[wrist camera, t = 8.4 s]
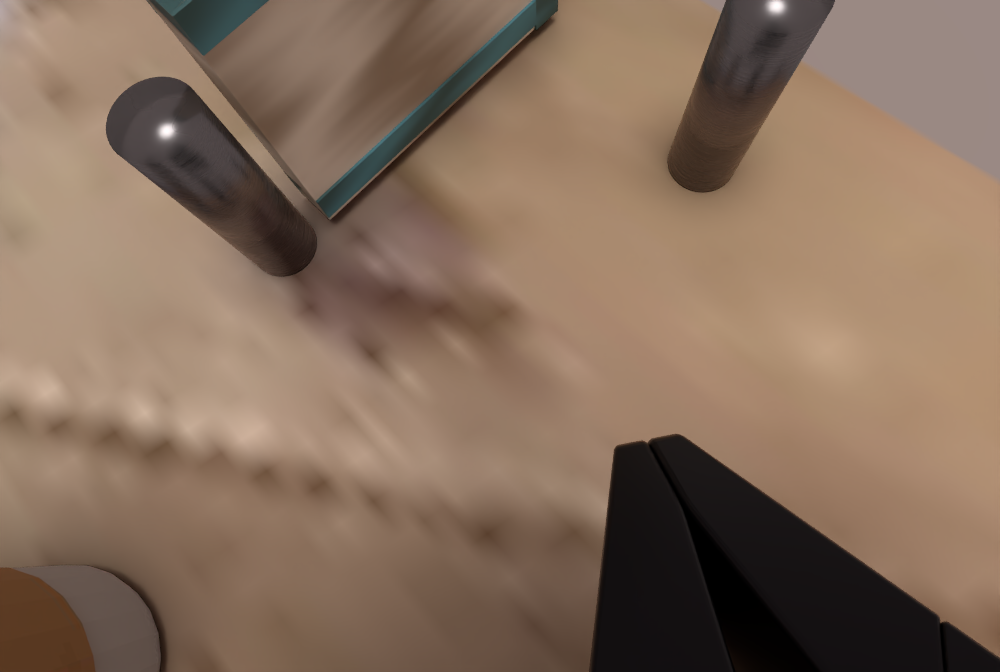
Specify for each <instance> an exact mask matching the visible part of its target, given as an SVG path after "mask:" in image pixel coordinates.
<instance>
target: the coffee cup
mask: <svg viewBox="0 0 1000 672" xmlns="http://www.w3.org/2000/svg"><path fill="white" fill-rule="evenodd" d="M160 662H161V653H160V643H159V633H158V630H157V627H156V625H155V622H154V619H153V617H152V614H151V611H150V610H149V608H148V607H147V606H146V604H145V603H144V601H143V600H142V599H141V597H140V596H139V595H138V593H137V592H136V591H134V590H133V589H131V587H129V586H128V585H127V584H125V583H124V582H123V581H121V580H120V579H118V578H117V577H116V576H114V575H113V574H112V573H109V572H106V571H103V570H100V569H97V568H94V567H91V566H86V565H57V566H40V567H23V568H0V672H159V670H160Z"/></svg>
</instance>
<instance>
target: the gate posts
mask: <svg viewBox="0 0 1000 672" xmlns="http://www.w3.org/2000/svg"><path fill="white" fill-rule="evenodd" d="M834 2H835V0H726V2H725V5H724V8H723V10H722V13H721V15H720V18H719V21H718V24H717V26H716V29H715V32H714V34H713V37H712V40H711V42H710V45H709V48H708V50H707V53H706V56H705V58H704V61H703V64H702V66H701V69H700V72H699V74H698V77H697V80H696V82H695V85H694V88H693V90H692V93H691V96H690V99H689V101H688V104H687V107H686V109H685V112H684V115H683V117H682V120H681V123H680V125H679V128H678V131H677V133H676V136H675V139H674V141H673V144H672V147H671V149H670V152H669V156H668V167H669V170H670V173H671V175H672V176H673V178H674V179H675V180H676V181H677V182H678V183H679V184H680V185H682V186H683V187H685V188H687V189H689V190H692V191H697V192H708V191H713V190H716V189H718V188H720V187H722V186H723V185H725V184H726V183H727V182H728V181H729V179H730V178H731V177H732V175H733V173H734V172H735V170H736V168H737V167H738V165H739V163H740V161H741V160H742V158H743V156H744V155H745V153H746V151H747V150H748V148H749V146H750V145H751V143H752V141H753V140H754V138H755V136H756V135H757V133H758V131H759V130H760V128H761V126H762V125H763V123H764V121H765V120H766V118H767V116H768V115H769V113H770V111H771V110H772V108H773V106H774V105H775V103H776V101H777V100H778V98H779V96H780V95H781V93H782V91H783V90H784V88H785V86H786V85H787V83H788V81H789V80H790V78H791V76H792V75H793V73H794V71H795V69H796V68H797V66H798V64H799V63H800V61H801V59H802V58H803V56H804V54H805V53H806V51H807V49H808V48H809V46H810V44H811V43H812V41H813V39H814V38H815V36H816V34H817V33H818V31H819V29H820V28H821V26H822V24H823V23H824V21H825V19H826V18H827V16H828V14H829V13H830V11H831V9H832V7H833V5H834ZM106 134H107V138H108V141H109V143H110V145H111V147H112V148H113V150H114V151H115V152H116V153H117V154H118V155H120V156H121V157H122V158H123V159H125V160H126V161H127V162H128V163H130V164H131V165H132V166H133V167H135V168H136V169H137V170H138V171H140V172H141V173H142V174H143V175H145V176H146V177H147V178H148V179H150V180H151V181H152V182H153V183H155V184H156V185H157V186H158V187H160V188H161V189H162V190H163V191H165V192H166V193H167V194H168V195H170V196H171V197H172V198H173V199H175V200H176V201H177V202H178V203H180V204H181V205H182V206H183V207H185V208H186V209H187V210H188V211H190V212H191V213H192V214H193V215H195V216H196V217H197V218H198V219H200V220H201V221H202V222H203V223H205V224H206V225H207V226H208V227H210V228H211V229H212V230H213V231H215V232H216V233H217V234H218V235H220V236H221V237H222V238H223V239H225V240H226V241H227V242H228V243H230V244H231V245H232V246H233V247H235V248H236V249H237V250H238V251H240V252H241V253H242V254H243V255H245V256H246V257H247V258H248V259H250V260H251V261H252V262H253V263H255V264H256V265H257V266H258V267H260V268H261V269H262V270H263V271H265V272H267V273H268V274H271V275H275V276H288V275H292V274H295V273H297V272H299V271H300V270H302V269H303V268H304V267H306V266H307V265H308V263H309V262H310V261H311V259H312V258H313V256H314V253H315V250H316V245H317V240H316V235H315V232H314V230H313V228H312V227H311V225H310V224H309V223H308V222H307V221H306V220H305V218H304V217H303V216H302V215H301V214H300V213H299V211H298V210H297V209H296V208H295V207H294V206H293V205H292V203H291V202H290V201H289V200H288V199H287V198H286V196H285V195H284V194H283V193H282V192H281V191H280V190H279V188H278V187H277V186H276V185H275V184H274V183H273V181H272V180H271V179H270V178H269V177H268V176H267V174H266V173H265V172H264V171H263V170H262V169H261V168H260V166H259V165H258V164H257V163H256V162H255V161H254V159H253V158H252V157H251V156H250V155H249V154H248V153H247V151H246V150H245V149H244V148H243V147H242V146H241V144H240V143H239V142H238V141H237V140H236V139H235V137H234V136H233V135H232V134H231V133H230V132H229V131H228V129H227V128H226V127H225V126H224V125H223V124H222V122H221V121H220V120H219V119H218V118H217V117H216V116H215V114H214V113H213V112H212V111H211V110H210V109H209V107H208V106H207V105H206V104H205V103H204V102H203V100H202V99H201V98H200V97H199V96H198V95H197V94H196V92H195V91H194V90H193V89H192V88H191V87H190V86H189V85H187V84H186V83H184V82H183V81H181V80H178V79H175V78H171V77H154V78H149V79H145V80H143V81H140V82H138V83H136V84H134V85H133V86H131V87H129V88H128V89H127V90H126V91H124V92H123V93H122V94H121V95H120V96H119V97H118V99H117V100H116V101H115V102H114V104H113V106H112V107H111V109H110V112H109V114H108V117H107V122H106Z"/></svg>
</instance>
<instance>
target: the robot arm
mask: <svg viewBox="0 0 1000 672" xmlns="http://www.w3.org/2000/svg"><path fill="white" fill-rule="evenodd" d="M589 672H1000V658H999V657H998V656H996V655H995V654H993V653H992V652H990V651H989V650H987V649H986V648H985V647H983V646H982V645H980V644H979V643H977V642H976V641H975V640H973V639H972V638H970V637H969V636H968V635H966V634H965V633H963V632H962V631H960V630H959V629H958V628H956V627H955V626H953V625H952V624H950V623H949V622H946V621H945V622H942V623H941V624H940V618H939V616H938V615H937V614H936V613H934V612H933V611H931V610H930V609H929V608H927V607H926V606H924V605H923V604H921V603H920V602H919V601H917V600H916V599H914V598H913V597H912V596H910V595H909V594H907V593H906V592H904V591H903V590H902V589H900V588H899V587H897V586H896V585H894V584H893V583H892V582H890V581H889V580H887V579H886V578H884V577H883V576H882V575H880V574H879V573H877V572H876V571H875V570H873V569H872V568H870V567H869V566H867V565H866V564H865V563H863V562H862V561H860V560H859V559H857V558H856V557H855V556H853V555H852V554H850V553H849V552H848V551H846V550H845V549H843V548H842V547H840V546H839V545H838V544H836V543H835V542H833V541H832V540H830V539H829V538H828V537H826V536H825V535H823V534H822V533H820V532H819V531H818V530H816V529H815V528H813V527H812V526H811V525H809V524H808V523H806V522H805V521H803V520H802V519H801V518H799V517H798V516H796V515H795V514H793V513H792V512H791V511H789V510H788V509H786V508H785V507H784V506H782V505H781V504H779V503H778V502H776V501H775V500H774V499H772V498H771V497H769V496H768V495H766V494H765V493H764V492H762V491H761V490H759V489H758V488H756V487H755V486H754V485H752V484H751V483H749V482H748V481H747V480H745V479H744V478H742V477H741V476H739V475H738V474H737V473H735V472H734V471H732V470H731V469H729V468H728V467H727V466H725V465H724V464H722V463H721V462H720V461H718V460H717V459H715V458H714V457H712V456H711V455H710V454H708V453H707V452H705V451H704V450H702V449H701V448H700V447H698V446H697V445H695V444H694V443H692V442H691V441H690V440H688V439H687V438H685V437H684V436H682V435H679V434H672V435H667V436H662V437H657V438H652V439H651V440H650V441H649V442H648V443H647V442H645V441H636V442H631V443H626V444H621V445H617V446H616V447H615V449H614V455H613V464H612V473H611V482H610V491H609V499H608V508H607V517H606V526H605V535H604V544H603V553H602V561H601V570H600V579H599V588H598V597H597V606H596V614H595V623H594V632H593V641H592V650H591V659H590V667H589Z"/></svg>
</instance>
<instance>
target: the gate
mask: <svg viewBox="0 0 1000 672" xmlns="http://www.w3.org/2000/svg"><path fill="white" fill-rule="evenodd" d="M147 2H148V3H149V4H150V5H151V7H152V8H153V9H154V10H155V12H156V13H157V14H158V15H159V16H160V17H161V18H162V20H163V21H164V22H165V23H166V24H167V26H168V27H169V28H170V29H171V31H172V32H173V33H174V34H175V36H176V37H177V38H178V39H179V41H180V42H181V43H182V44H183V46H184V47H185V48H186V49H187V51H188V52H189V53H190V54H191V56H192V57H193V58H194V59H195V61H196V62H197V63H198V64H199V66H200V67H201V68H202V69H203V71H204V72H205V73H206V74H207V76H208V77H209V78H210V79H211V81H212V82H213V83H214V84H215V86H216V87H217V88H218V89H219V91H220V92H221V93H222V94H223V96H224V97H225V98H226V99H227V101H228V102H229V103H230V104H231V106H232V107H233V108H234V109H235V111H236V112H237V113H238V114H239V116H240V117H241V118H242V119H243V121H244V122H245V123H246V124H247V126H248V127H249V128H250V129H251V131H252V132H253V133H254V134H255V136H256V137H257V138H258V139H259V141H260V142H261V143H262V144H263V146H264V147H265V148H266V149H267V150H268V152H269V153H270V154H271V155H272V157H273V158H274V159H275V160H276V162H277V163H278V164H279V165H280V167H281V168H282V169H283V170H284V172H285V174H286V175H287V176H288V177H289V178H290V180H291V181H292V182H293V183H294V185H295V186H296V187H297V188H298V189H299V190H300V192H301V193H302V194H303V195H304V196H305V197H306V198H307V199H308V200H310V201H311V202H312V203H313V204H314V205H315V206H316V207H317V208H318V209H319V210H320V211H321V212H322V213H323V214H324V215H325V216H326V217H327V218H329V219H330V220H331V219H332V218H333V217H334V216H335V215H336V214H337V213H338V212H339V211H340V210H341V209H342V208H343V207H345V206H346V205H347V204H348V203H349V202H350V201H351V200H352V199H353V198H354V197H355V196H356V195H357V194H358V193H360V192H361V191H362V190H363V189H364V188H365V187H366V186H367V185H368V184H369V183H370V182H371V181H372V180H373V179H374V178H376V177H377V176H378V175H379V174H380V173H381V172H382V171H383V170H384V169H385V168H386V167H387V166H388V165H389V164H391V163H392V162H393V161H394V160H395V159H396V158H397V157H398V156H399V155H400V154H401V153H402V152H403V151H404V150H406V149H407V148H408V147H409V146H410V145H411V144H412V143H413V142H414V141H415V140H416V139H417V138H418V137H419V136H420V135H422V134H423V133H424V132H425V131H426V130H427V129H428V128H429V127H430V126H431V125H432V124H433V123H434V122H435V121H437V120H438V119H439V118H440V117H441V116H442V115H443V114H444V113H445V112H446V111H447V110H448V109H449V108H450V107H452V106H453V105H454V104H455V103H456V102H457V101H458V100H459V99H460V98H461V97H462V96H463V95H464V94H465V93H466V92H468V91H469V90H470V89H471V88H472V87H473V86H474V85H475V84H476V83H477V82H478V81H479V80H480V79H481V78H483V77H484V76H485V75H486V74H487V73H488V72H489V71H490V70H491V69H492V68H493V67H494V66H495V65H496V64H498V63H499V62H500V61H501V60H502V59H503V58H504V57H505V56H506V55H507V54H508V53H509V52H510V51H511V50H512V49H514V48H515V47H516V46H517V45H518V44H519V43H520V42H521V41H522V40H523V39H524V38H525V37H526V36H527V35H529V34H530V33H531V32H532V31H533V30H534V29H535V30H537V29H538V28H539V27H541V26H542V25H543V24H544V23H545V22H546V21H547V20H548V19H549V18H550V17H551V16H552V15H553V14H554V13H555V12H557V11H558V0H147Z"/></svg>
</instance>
